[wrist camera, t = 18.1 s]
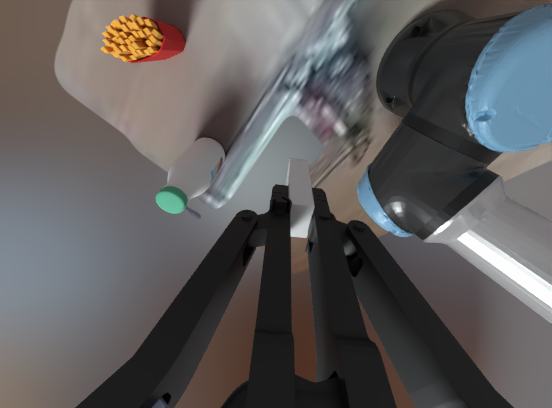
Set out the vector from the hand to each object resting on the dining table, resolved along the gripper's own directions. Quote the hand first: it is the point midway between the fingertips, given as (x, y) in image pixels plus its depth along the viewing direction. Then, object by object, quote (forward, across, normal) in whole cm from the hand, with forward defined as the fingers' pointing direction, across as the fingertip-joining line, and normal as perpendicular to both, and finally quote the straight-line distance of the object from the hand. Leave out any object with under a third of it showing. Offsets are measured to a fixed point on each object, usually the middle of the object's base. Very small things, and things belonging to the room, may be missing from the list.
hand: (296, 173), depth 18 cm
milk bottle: (+29, +18, +12) cm, 36 cm away
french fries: (+29, +23, -8) cm, 38 cm away
